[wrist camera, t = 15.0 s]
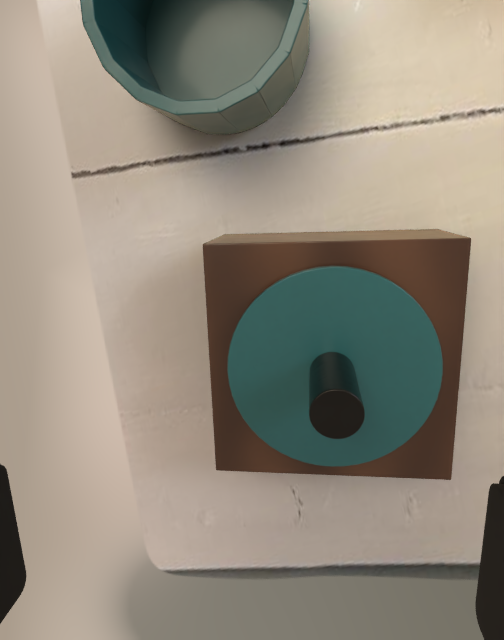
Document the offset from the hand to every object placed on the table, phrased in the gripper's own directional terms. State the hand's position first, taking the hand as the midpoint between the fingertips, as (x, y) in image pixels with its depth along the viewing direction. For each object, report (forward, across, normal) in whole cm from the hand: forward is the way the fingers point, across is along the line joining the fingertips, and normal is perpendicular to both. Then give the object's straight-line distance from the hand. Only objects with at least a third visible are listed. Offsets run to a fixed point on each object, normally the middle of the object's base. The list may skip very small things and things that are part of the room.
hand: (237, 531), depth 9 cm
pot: (+27, +4, -16) cm, 31 cm away
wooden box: (+26, -3, +4) cm, 27 cm away
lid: (+19, -3, +4) cm, 20 cm away
